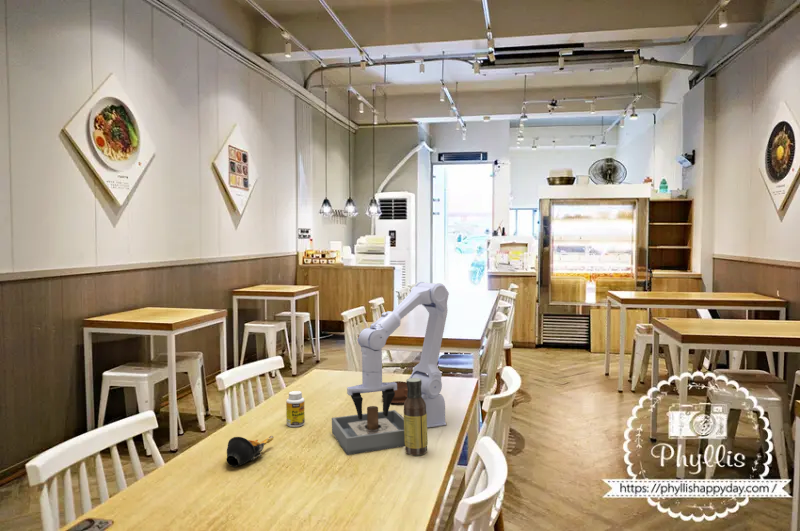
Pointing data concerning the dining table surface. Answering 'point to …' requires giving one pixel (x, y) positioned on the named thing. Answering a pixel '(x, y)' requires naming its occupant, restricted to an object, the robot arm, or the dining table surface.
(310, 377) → the dining table surface
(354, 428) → the bored plate
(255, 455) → the fried shrimp in bowl
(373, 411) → the peg
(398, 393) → the cup and saucer
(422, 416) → the sauce bottle
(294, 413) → the supplement bottle
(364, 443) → the open box
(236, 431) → the dining table surface
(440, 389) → the robot arm
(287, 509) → the dining table surface
